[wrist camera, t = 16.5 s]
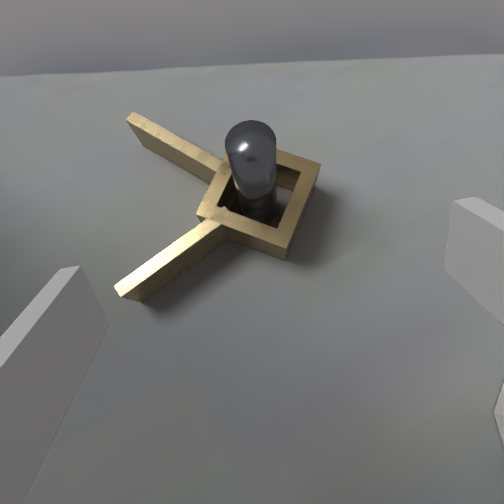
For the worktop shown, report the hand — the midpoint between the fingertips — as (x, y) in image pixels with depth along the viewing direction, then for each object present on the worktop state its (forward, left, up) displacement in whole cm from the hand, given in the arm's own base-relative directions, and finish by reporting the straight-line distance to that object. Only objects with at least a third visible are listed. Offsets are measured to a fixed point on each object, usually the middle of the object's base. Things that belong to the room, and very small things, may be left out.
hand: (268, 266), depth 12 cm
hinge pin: (-5, +10, -21) cm, 23 cm away
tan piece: (-11, +5, -21) cm, 24 cm away
